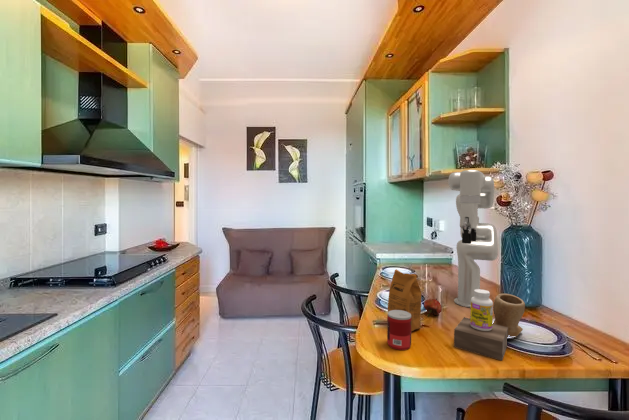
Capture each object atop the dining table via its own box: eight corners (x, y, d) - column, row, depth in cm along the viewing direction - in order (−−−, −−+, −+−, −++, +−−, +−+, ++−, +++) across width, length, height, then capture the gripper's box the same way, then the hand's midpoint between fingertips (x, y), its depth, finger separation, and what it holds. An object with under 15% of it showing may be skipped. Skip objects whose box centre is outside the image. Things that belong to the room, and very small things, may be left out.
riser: (463, 332, 111) (464, 317, 111) (507, 344, 102) (508, 327, 102) (454, 346, 100) (454, 329, 100) (502, 360, 91) (502, 341, 91)
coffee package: (401, 318, 125) (401, 267, 124) (424, 329, 114) (425, 273, 113) (383, 323, 120) (383, 269, 119) (406, 335, 109) (406, 276, 108)
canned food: (415, 348, 99) (416, 316, 98) (394, 352, 96) (395, 319, 96) (402, 338, 106) (403, 308, 106) (383, 341, 104) (383, 310, 103)
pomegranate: (438, 324, 124) (449, 306, 129) (430, 312, 123) (441, 294, 127) (424, 320, 131) (434, 303, 135) (416, 308, 129) (427, 292, 133)
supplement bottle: (467, 327, 101) (468, 291, 101) (473, 322, 106) (473, 287, 106) (489, 333, 97) (490, 295, 96) (494, 327, 101) (495, 291, 101)
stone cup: (517, 346, 101) (518, 303, 100) (480, 334, 110) (481, 294, 110) (532, 334, 110) (533, 295, 109) (497, 324, 119) (497, 287, 119)
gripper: (464, 200, 129) (464, 239, 129) (454, 200, 115) (453, 243, 116) (484, 200, 124) (483, 240, 124) (475, 200, 111) (475, 245, 111)
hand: (469, 242), depth 120 cm, fingers open, 9 cm apart
